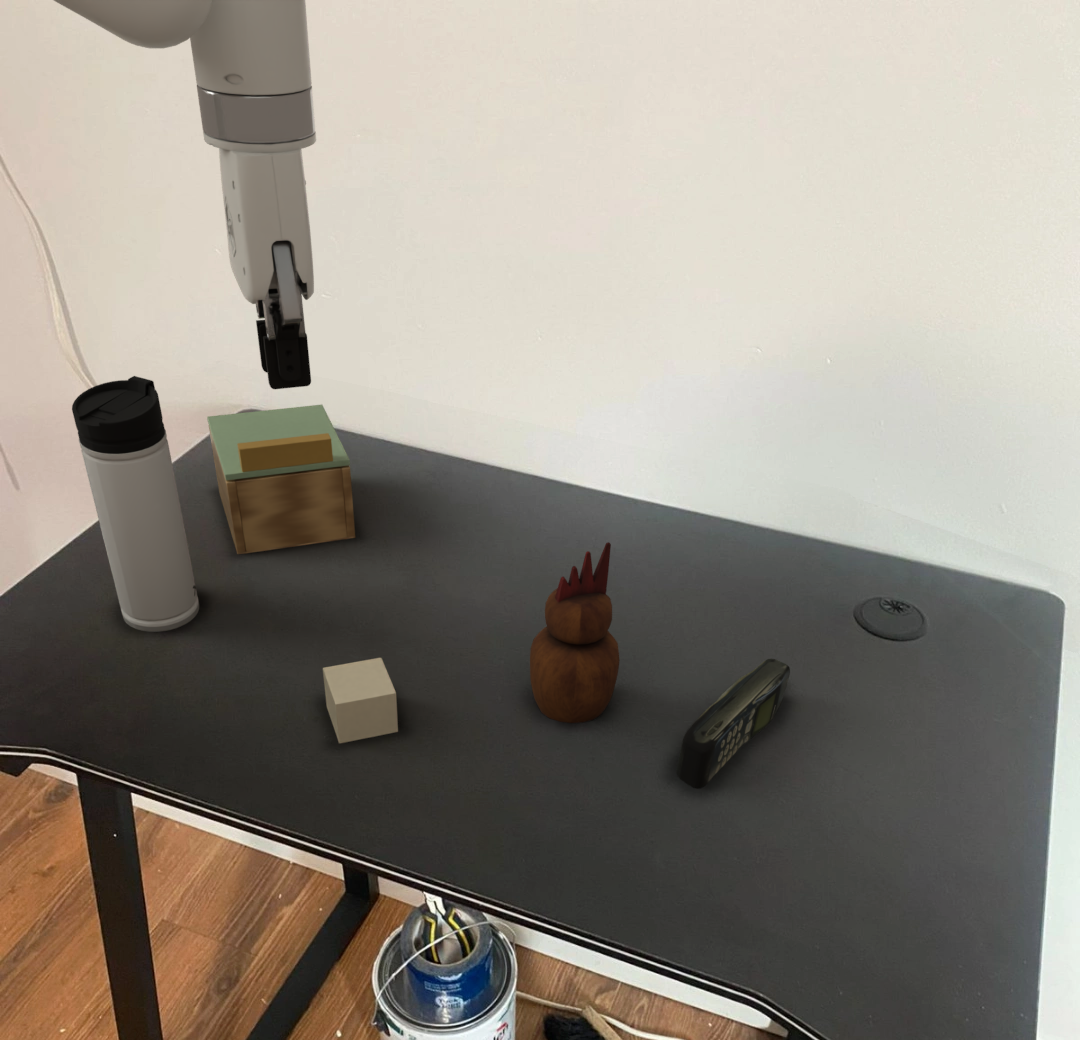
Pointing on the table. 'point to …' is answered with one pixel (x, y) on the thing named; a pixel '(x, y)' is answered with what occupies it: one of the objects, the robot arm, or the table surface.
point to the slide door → (276, 442)
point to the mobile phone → (731, 722)
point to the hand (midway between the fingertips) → (286, 376)
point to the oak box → (287, 507)
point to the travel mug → (137, 502)
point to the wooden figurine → (576, 647)
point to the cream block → (360, 700)
